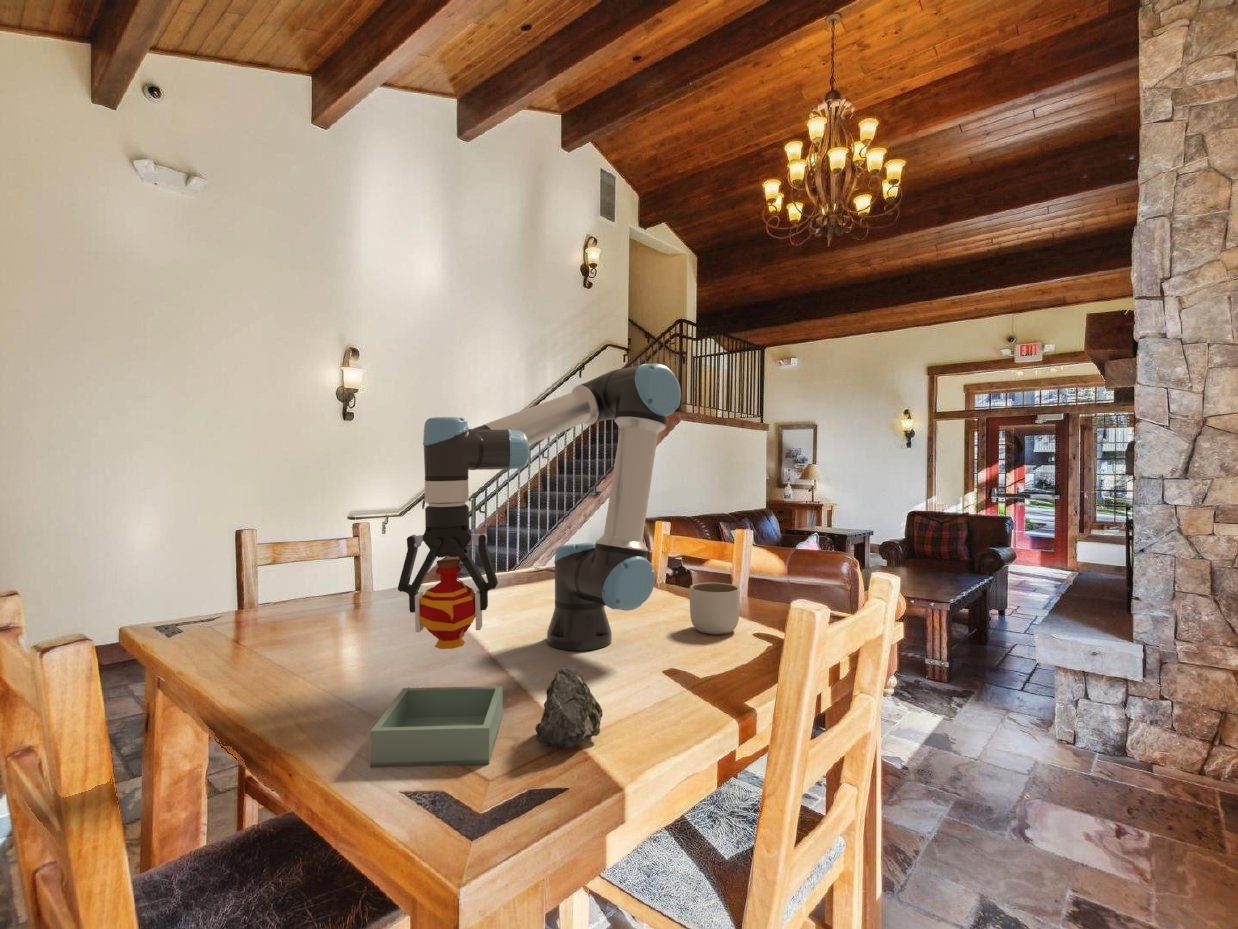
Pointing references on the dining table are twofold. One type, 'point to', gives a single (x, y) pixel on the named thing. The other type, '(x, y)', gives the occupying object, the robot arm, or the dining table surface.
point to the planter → (714, 607)
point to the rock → (568, 711)
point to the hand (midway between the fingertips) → (449, 629)
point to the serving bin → (438, 727)
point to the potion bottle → (448, 606)
